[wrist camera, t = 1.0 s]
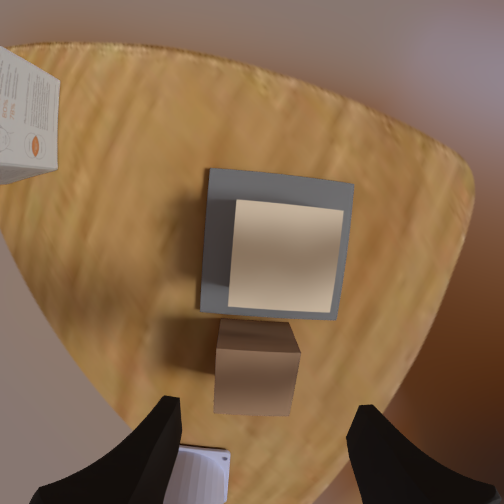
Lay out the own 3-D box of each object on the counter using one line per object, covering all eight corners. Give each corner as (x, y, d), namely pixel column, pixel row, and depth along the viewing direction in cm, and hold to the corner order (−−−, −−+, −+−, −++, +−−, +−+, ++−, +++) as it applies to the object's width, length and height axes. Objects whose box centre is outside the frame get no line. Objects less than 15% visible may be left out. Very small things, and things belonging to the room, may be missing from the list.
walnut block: (280, 378, 23) (288, 416, 18) (217, 374, 23) (213, 413, 18) (288, 322, 23) (301, 353, 18) (221, 317, 22) (216, 348, 17)
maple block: (314, 293, 22) (329, 312, 18) (230, 287, 21) (227, 306, 17) (324, 208, 21) (343, 210, 17) (237, 199, 20) (236, 199, 16)
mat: (334, 318, 22) (336, 320, 22) (200, 309, 22) (200, 311, 22) (352, 184, 21) (354, 184, 21) (210, 168, 20) (210, 168, 20)
